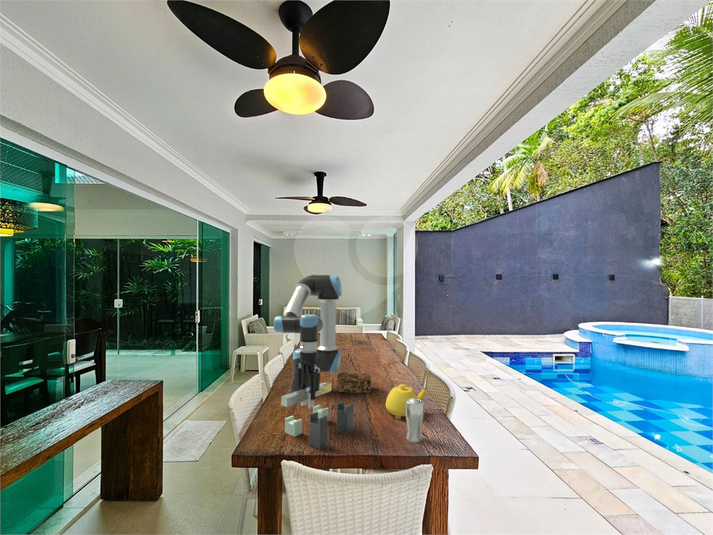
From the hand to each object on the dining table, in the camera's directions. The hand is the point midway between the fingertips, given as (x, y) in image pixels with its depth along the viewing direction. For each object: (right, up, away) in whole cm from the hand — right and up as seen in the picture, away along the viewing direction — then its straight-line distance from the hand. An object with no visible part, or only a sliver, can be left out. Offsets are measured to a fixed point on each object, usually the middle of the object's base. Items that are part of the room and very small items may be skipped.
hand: (307, 405), depth 149 cm
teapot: (+44, -10, +15) cm, 48 cm away
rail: (0, +4, 0) cm, 4 cm away
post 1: (+6, -8, -16) cm, 19 cm away
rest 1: (-5, -9, -6) cm, 12 cm away
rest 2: (+5, -9, +6) cm, 12 cm away
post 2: (+16, -9, -4) cm, 19 cm away
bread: (+20, -10, +48) cm, 53 cm away
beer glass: (+44, -9, -10) cm, 46 cm away
